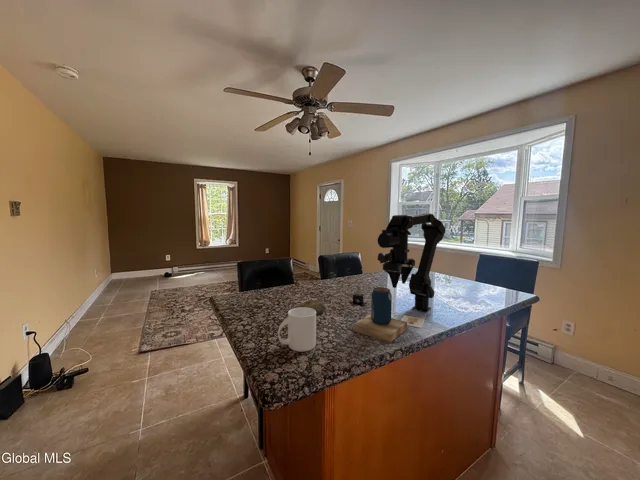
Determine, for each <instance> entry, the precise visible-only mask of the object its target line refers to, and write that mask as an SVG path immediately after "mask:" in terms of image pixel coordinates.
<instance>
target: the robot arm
mask: <svg viewBox="0 0 640 480" xmlns="http://www.w3.org/2000/svg"><path fill="white" fill-rule="evenodd" d="M417 225H421V226H420V227H421V229H422V231H423V238H424V240H425V242H424V246H423V249H422V254H421V256H420V261H419V264H418V268H417V271H416V272H415V273H411V272H412V271H413V269H414V267H415V266H416V260H415V259H414V258H408V254H409V253H410V249H408V248H409V243H408V242H409V236H410V235H412V232H410V231H409V230H410V229H412V228H414V226H417ZM385 228H386V229H382V230H381V233H380V234H379V235H378V237H377V244H378V246H379V247H380V248H382V249H388V248H390V250H389V253H385V252H379V253H378V255H377V261H379V263H380V264H382V270H383V271H384V272H386V274H387V275H389V278H390V281H391V285H392V288H393V289H396V288H397V286H398V285H399V281H400V279H401V283H402V284H405V285H406V282H407V281H408V278H409V276H410V279H409V281H408V282H409V283H408V287H409V288H408V289H409V293H410V295H414V306H412V308H411V310H414V311H418V312H424V313H427V312H429V311H430V310H432V307H431V306H429V305H430V302H429V301H430V300H429V299H433V298H434V296H435V290H434V289H433V287H432V280H431V277H430V274H431V273H430V272H431V269H432V265H433V262H434V257H435V254H436V250H437V245H438V244H439V243H440V242H441V241H442V240H443V238H444V235H445V234H446V227H445V225H444V223H443V222H442V221H441V220H440V219H438V218H436V216H435V215H434V213H422V214H416V215H411V214H396V215H395V214H394V215H392V216H391V218H390V220H389V223H388V224H387V226H386V227H385Z"/></svg>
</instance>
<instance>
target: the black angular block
mask: <svg viewBox="0 0 640 480" xmlns="http://www.w3.org/2000/svg"><path fill="white" fill-rule="evenodd" d="M352 300H353V301H351V300H348V301H349V304H352V303H353V305H356V304H357V305H356V306H359V305H360V307H364V306H363V305H365V304H367V303H368V302H365V301H364V294H362V293H358V292H357V293H354V294H353V295H352ZM364 302H365V303H364ZM365 306H366V305H365Z"/></svg>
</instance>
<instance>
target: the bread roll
mask: <svg viewBox="0 0 640 480" xmlns="http://www.w3.org/2000/svg"><path fill="white" fill-rule="evenodd" d="M299 307H307V308H312V309H314V310H315V311H316V317H317V316H319V315H322V314H323V313H324V312H325V310H326V307H325V306H324V304H323V303H322V302H320V301H318V300H312V299H311V300H306V301H304V302H302V303H299V304H297V305H296V306H295V307H294V308H299Z"/></svg>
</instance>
